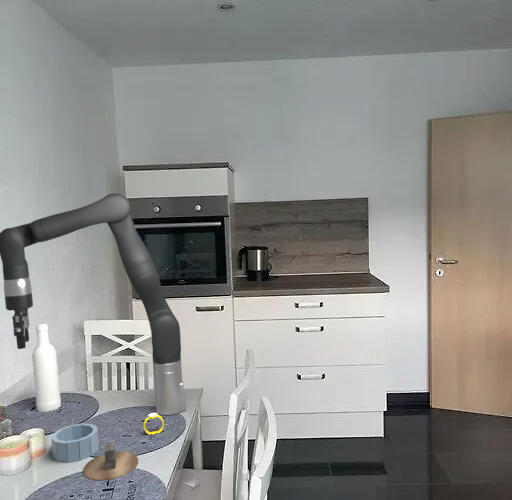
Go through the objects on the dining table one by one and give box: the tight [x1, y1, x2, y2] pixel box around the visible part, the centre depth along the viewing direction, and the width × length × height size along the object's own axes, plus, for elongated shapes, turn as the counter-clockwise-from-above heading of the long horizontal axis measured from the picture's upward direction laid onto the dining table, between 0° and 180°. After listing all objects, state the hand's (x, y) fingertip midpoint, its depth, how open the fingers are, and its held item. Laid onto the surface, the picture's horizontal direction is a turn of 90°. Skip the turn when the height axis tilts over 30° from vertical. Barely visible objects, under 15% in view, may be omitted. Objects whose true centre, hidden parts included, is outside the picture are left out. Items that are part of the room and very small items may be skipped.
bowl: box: [51, 422, 100, 464], centre depth 140 cm, size 12×12×6 cm
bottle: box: [31, 322, 62, 413], centre depth 173 cm, size 8×8×30 cm
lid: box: [83, 441, 139, 482], centre depth 131 cm, size 14×14×6 cm
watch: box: [143, 412, 165, 436], centre depth 149 cm, size 6×3×6 cm, turn 107°
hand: (23, 345), depth 152 cm, fingers open, 8 cm apart
